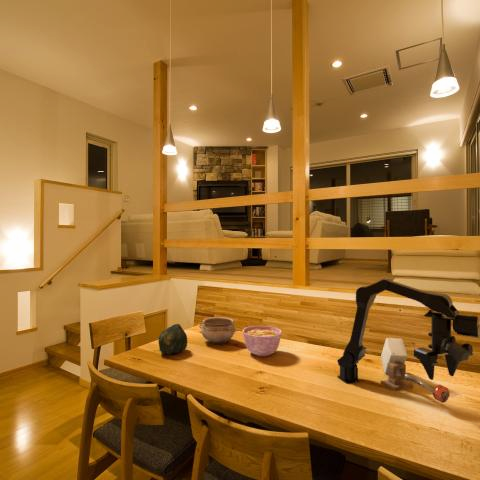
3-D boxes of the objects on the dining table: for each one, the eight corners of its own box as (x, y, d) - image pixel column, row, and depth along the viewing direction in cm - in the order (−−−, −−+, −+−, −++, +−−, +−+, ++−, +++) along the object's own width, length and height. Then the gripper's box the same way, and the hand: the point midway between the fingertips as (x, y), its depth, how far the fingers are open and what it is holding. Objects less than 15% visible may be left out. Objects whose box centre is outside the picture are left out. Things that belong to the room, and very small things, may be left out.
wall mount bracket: (392, 390, 116) (392, 368, 116) (380, 383, 122) (380, 362, 122) (412, 386, 119) (412, 365, 119) (400, 380, 125) (400, 359, 125)
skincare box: (400, 375, 130) (408, 357, 119) (383, 374, 131) (390, 356, 121) (395, 356, 136) (403, 337, 126) (379, 355, 137) (386, 337, 127)
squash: (147, 343, 153) (164, 322, 150) (165, 336, 167) (181, 317, 163) (164, 365, 148) (182, 344, 145) (181, 356, 162) (198, 337, 159)
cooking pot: (244, 340, 175) (244, 319, 176) (231, 350, 158) (231, 327, 158) (206, 335, 185) (207, 315, 185) (190, 344, 168) (190, 322, 168)
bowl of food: (288, 351, 157) (288, 329, 157) (270, 364, 140) (270, 339, 140) (254, 344, 168) (254, 323, 168) (234, 355, 151) (234, 332, 151)
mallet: (439, 404, 100) (439, 388, 100) (399, 383, 116) (399, 369, 116) (451, 402, 102) (451, 386, 102) (410, 381, 117) (410, 367, 117)
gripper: (443, 341, 92) (443, 392, 92) (486, 335, 98) (486, 384, 98) (412, 331, 103) (412, 377, 102) (452, 326, 109) (452, 370, 108)
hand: (441, 377), depth 102 cm, fingers open, 9 cm apart
